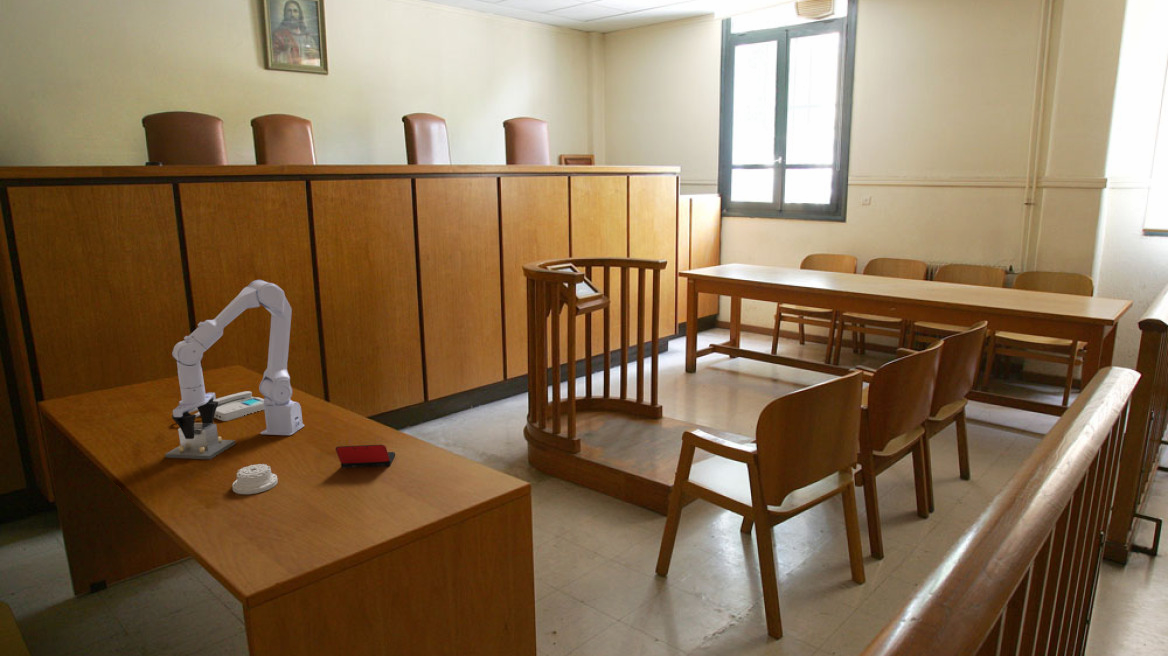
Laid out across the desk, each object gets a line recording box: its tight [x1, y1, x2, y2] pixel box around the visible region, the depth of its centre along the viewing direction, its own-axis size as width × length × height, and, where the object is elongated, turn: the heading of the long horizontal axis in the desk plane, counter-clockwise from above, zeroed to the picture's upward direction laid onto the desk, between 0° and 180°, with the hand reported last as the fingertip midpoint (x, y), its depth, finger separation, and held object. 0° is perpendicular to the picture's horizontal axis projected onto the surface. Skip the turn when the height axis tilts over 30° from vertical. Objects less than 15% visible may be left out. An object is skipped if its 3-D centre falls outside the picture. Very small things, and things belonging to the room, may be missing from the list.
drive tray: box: [164, 436, 236, 460], centre depth 196 cm, size 13×11×2 cm
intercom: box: [189, 390, 265, 422], centre depth 224 cm, size 13×4×25 cm
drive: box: [177, 422, 219, 451], centre depth 196 cm, size 8×5×6 cm, turn 82°
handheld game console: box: [335, 444, 396, 469], centre depth 185 cm, size 12×11×7 cm
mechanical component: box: [232, 463, 279, 495], centre depth 174 cm, size 10×4×10 cm
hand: (199, 433), depth 195 cm, fingers open, 7 cm apart
